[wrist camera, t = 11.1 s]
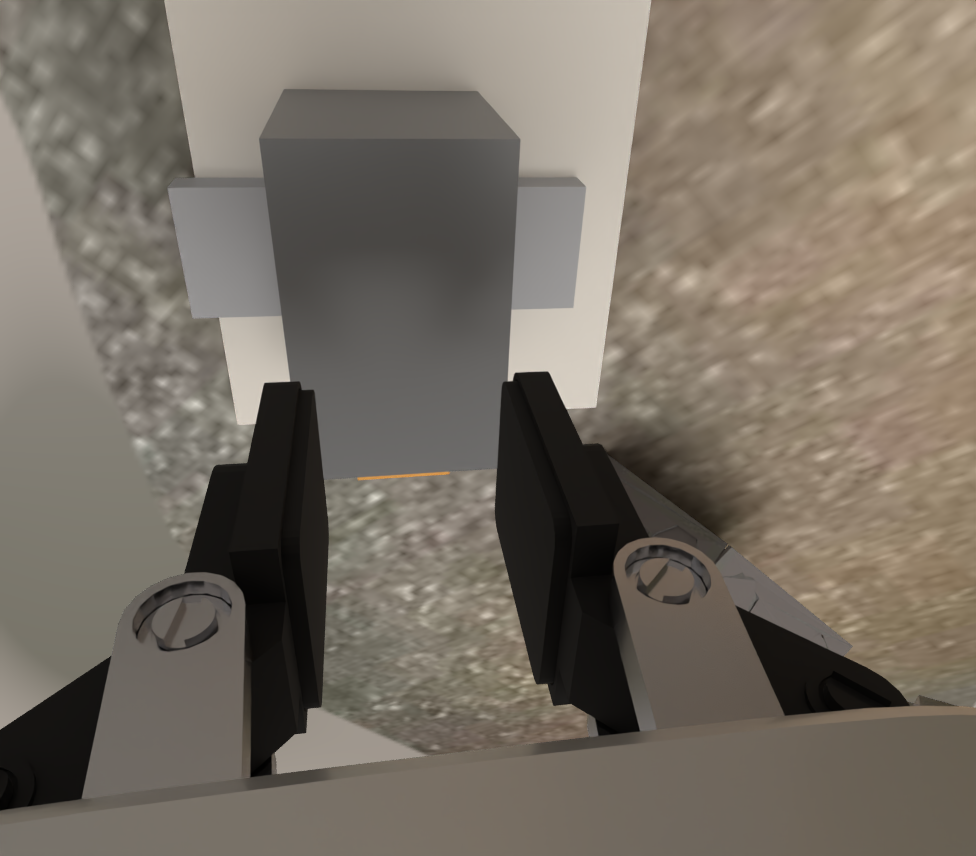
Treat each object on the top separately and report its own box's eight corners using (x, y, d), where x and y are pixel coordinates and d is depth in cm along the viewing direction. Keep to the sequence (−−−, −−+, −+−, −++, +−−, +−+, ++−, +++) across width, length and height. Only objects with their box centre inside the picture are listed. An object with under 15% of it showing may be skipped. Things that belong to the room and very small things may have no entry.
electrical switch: (519, 502, 29) (602, 683, 21) (612, 408, 28) (737, 563, 20) (660, 600, 33) (773, 780, 26) (745, 523, 32) (891, 686, 24)
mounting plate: (707, -566, 15) (757, -640, 13) (586, 390, 27) (604, 422, 25) (33, -673, 13) (-20, -776, 11) (226, 406, 25) (217, 442, 23)
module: (477, 91, 19) (520, 138, 15) (471, 376, 24) (502, 487, 19) (283, 89, 19) (259, 139, 14) (315, 383, 23) (305, 500, 18)
